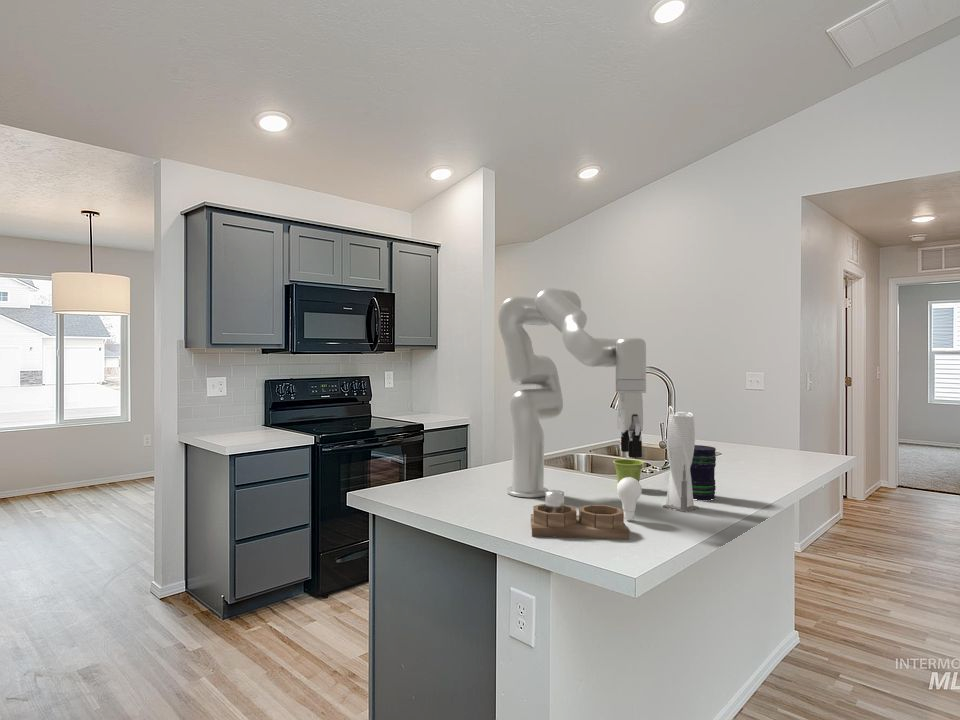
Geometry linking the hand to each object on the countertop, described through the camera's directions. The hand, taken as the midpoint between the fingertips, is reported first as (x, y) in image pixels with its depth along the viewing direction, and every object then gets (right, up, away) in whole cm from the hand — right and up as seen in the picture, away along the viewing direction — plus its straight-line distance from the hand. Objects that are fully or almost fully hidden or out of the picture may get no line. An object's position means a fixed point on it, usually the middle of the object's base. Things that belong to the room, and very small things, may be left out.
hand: (631, 454), depth 150 cm
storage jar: (+27, -18, +28) cm, 43 cm away
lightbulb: (-1, -17, 0) cm, 17 cm away
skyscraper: (+17, -17, +15) cm, 29 cm away
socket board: (-15, -17, -9) cm, 24 cm away
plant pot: (+9, -17, +38) cm, 43 cm away
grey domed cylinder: (-21, -15, -8) cm, 27 cm away
